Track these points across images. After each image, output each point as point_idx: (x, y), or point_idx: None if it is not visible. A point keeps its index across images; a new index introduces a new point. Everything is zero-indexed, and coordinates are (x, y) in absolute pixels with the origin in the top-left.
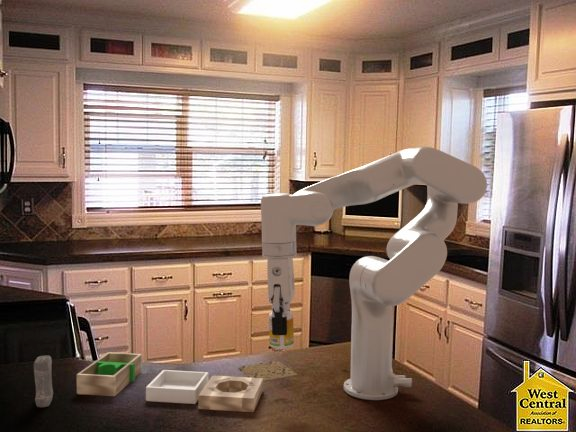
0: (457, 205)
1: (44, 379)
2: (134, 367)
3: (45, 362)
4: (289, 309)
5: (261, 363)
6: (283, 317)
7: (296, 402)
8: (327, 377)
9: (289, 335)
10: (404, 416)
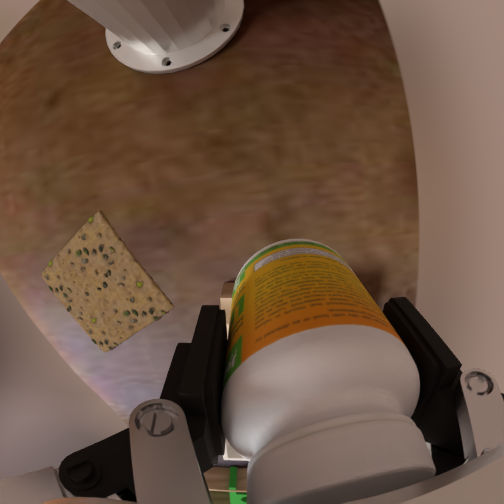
0: None
1: None
2: (229, 482)
3: None
4: (192, 396)
5: (69, 308)
6: (472, 376)
7: (285, 186)
8: (98, 130)
9: (357, 279)
10: None
